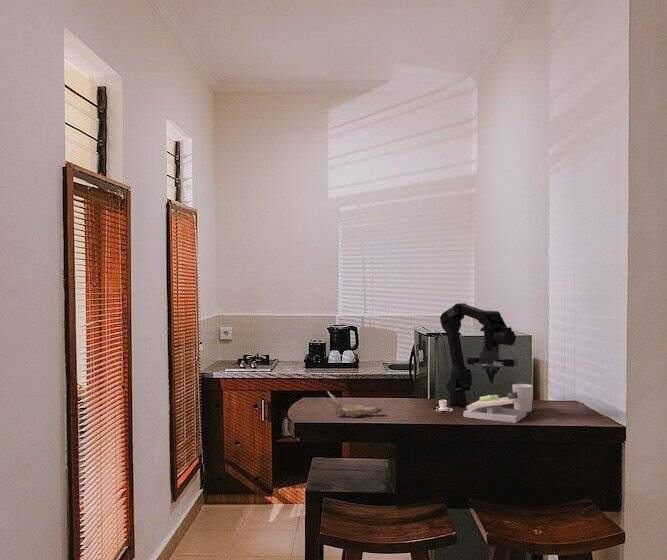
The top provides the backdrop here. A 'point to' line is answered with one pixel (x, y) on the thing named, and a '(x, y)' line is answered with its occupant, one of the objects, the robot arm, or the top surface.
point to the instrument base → (496, 413)
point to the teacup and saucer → (443, 406)
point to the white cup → (527, 395)
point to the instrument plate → (495, 400)
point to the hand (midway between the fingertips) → (492, 383)
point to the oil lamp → (354, 408)
